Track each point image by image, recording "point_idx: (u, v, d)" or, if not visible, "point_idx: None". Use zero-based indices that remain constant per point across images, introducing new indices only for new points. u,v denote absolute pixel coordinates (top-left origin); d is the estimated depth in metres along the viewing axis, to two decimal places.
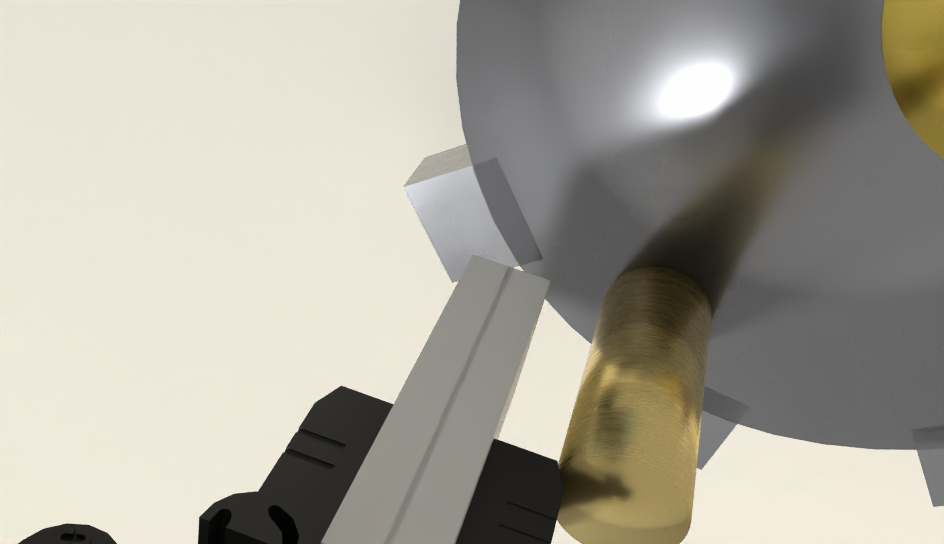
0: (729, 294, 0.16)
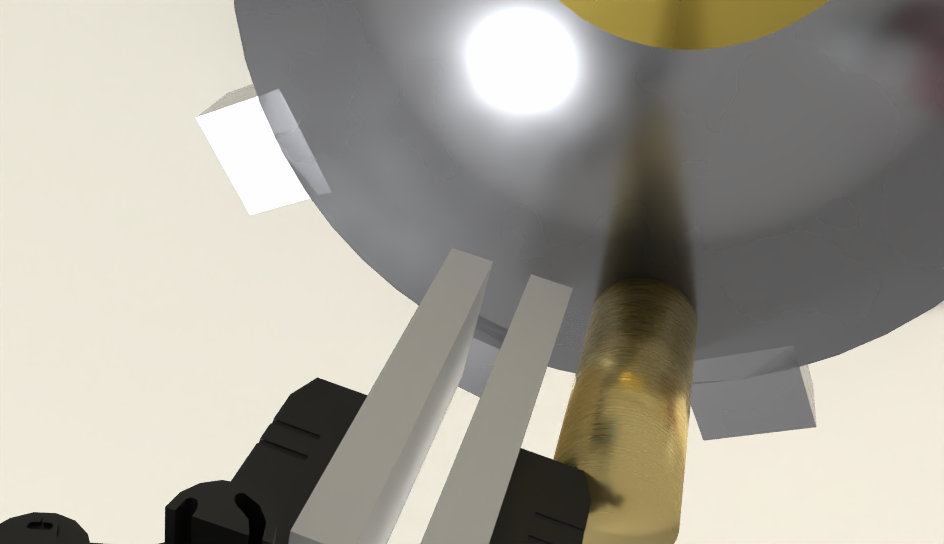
0: (678, 268, 0.16)
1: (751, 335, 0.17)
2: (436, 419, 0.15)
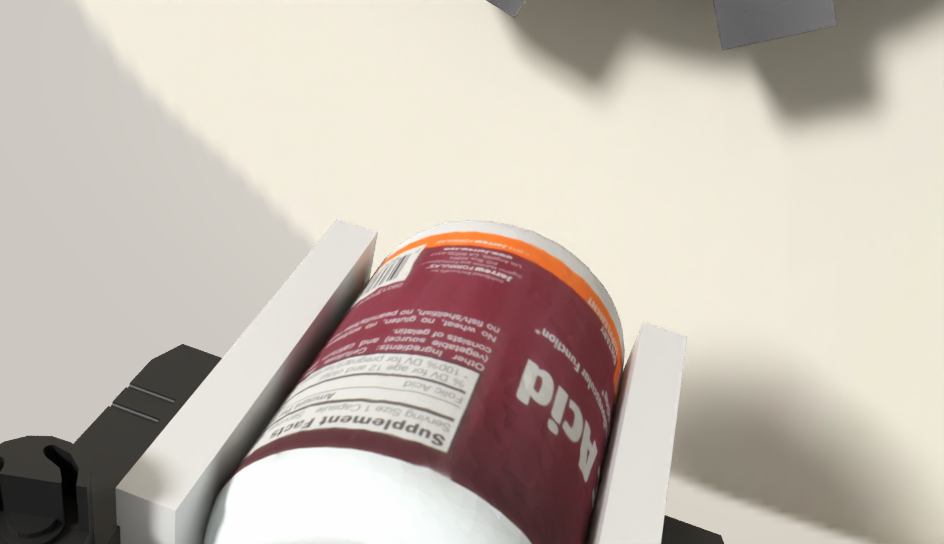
0: None
1: None
2: None
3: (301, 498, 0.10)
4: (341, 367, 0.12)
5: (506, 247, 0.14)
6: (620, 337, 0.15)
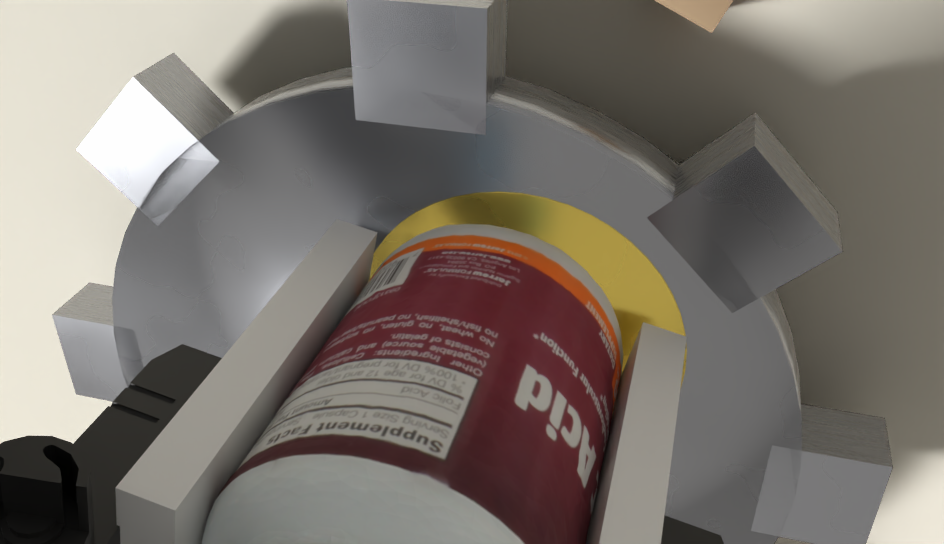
0: None
1: None
2: None
3: (298, 507, 0.10)
4: (339, 372, 0.12)
5: (505, 252, 0.14)
6: (619, 341, 0.15)
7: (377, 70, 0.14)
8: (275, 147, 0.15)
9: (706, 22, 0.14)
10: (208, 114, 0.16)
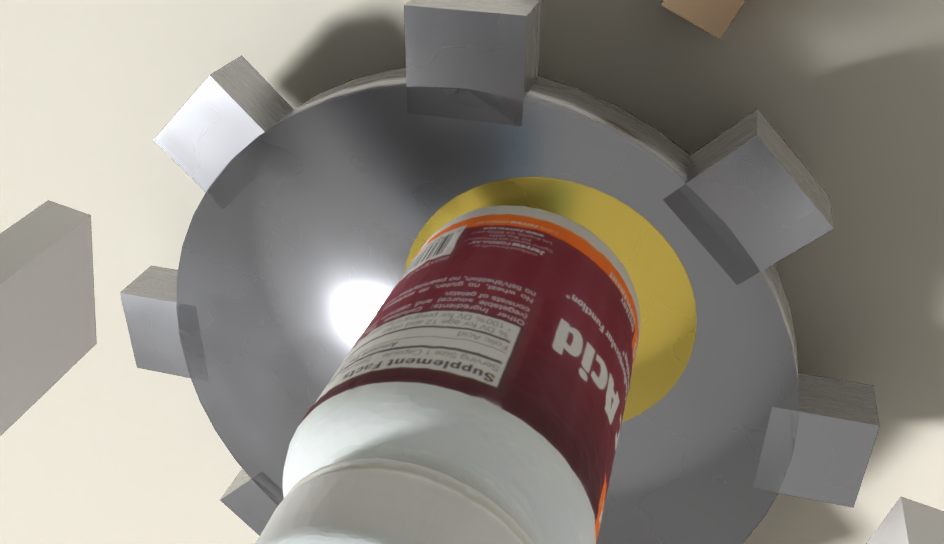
0: None
1: None
2: (12, 386, 0.14)
3: (375, 424, 0.12)
4: (401, 322, 0.14)
5: (539, 227, 0.16)
6: (637, 309, 0.17)
7: (428, 69, 0.16)
8: (333, 138, 0.18)
9: (715, 29, 0.16)
10: (272, 110, 0.18)
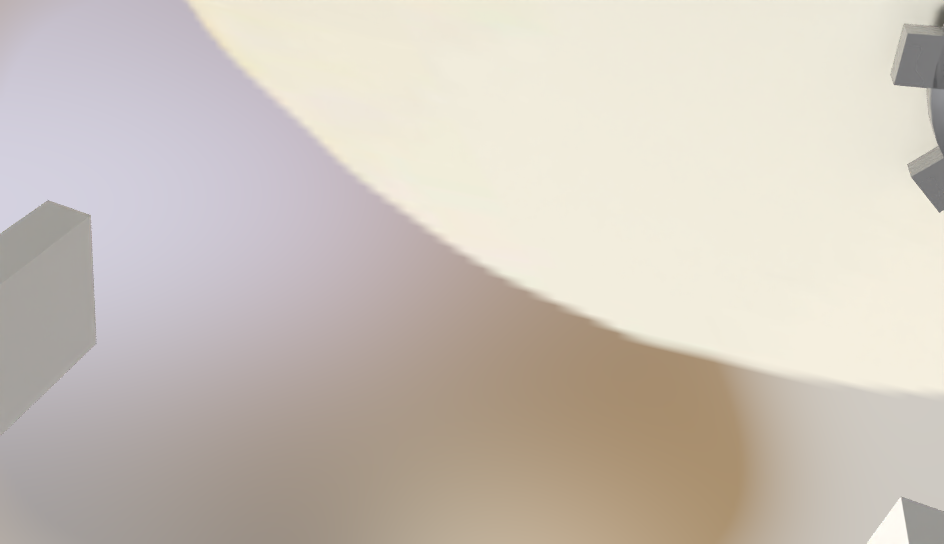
0: None
1: None
2: (12, 386, 0.14)
3: None
4: None
5: None
6: None
7: None
8: None
9: None
10: None
